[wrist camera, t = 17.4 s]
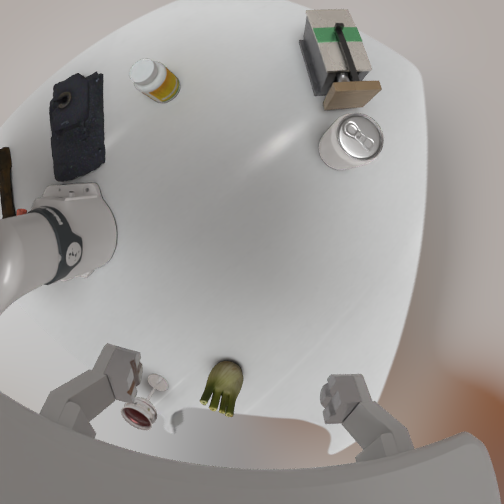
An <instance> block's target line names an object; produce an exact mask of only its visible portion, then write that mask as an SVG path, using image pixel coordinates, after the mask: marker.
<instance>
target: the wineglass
mask: <svg viewBox="0 0 504 504" xmlns="http://www.w3.org/2000/svg"><path fill="white" fill-rule="evenodd" d="M148 382H149V384H150V385H151V386H152V387H153V389H152V391H151V392H150V394H149V395H148V397H147V398H146V399H145V398H142V397H136V398H135V401H134V404H131V403H127V402H126V403H125V405H124V407H123V408H122V409H121V415H122V416H123V418H124V419H125V421H127V422H128V423H129V424H130V425H132V426H133V427H135V428H138V429H141V430H149V429H151V428H152V424H153V423H154V422H155V421H156V418H157V411H156V409H155V407H154V406H153V404H152V403H151V402H150V401H149V400H150V398H151V396H152V395H153V393H154V391H155V389H156V390H158V391H165V390H167V389H168V383H167V381H166V380H165V379H164V378H163V377H161V376H159V375H156V374H151V375H149V376H148Z"/></svg>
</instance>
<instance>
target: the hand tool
mask: <svg viewBox="0 0 504 504" xmlns="http://www.w3.org/2000/svg"><path fill="white" fill-rule="evenodd" d="M11 167H12V163H11V156H10V151H9V148H8V147H3V148H2V149H0V196H1V206H2V215H3V218H2V219H4V218H9V217H13V216H15V215H14V212H15V210H14V209H13V202H12V193H11V182H10V169H11Z"/></svg>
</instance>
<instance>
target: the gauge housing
mask: <svg viewBox="0 0 504 504" xmlns="http://www.w3.org/2000/svg"><path fill="white" fill-rule="evenodd" d="M306 15H307V18H306V25H305V32H304V39H303V40H299V45H300V48H301V51H302V54H303V57H304V61H305V64H306V67H307V71H308V74H309V78H310V81H311V85H312V89H313V92H314V96H320V95H327V94H328V92H329V90H330V88H331V86H332V84H333V83H334V82H338V79H337V76H336V74H337V72H347V74H348V78H349V81H350V82H351V81H352V79H351V76H350V73H349V70H348V67H347V64H346V61H345V58H344V55H343V52H342V49H341V47H340V44H339V41H338V39H337V36H336V33H335V31H334V26H335V23H343V24H344V28H343V30H342V32H343V34H344V37H345V39H346V42H347V45H348V47H349V50H350V53H351V56H352V59H353V61H354V64H355V67H356V70H357V73H358V77H359V80H360V81H362V80H363V79H364V77H365V76H366V75H367V74H368V72H369V71H371V70H372V68H371V65H370V62H369V59H368V56H367V54H366V51H365V48H364V46H363V43H362V39H361V37H360V34H359V32H358V30H357V27H356V26H355V24H354V22H353V20H352V17H351V15H350V13H349V11H348V10H344V9H338V10H336V9H334V10H332V9H331V10H330V9H328V10H306Z"/></svg>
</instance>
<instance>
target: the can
mask: <svg viewBox="0 0 504 504" xmlns="http://www.w3.org/2000/svg"><path fill="white" fill-rule="evenodd" d="M383 142H384V139H383V133H382V130H381V128H380V126H379V125H378V124H377V122H376V121H375V120H374V119H372V118H371V117H369V116H367V115H365V114H361V113H350V114H346V115H343V116H341V117H340V118H338V119H337V120H336V121H335V122H334V123H333V124H332V126H331V127H330V128H329V129H328V130H327V131H326V132H325V134H324V135H323V136H322V138H321V140H320V143H319V153H320V156H321V158H322V160H323V161H324V162H325V163H326V164H327V165H328V166H329V167H331V168H333V169H337V170H345V169H350V168H354V167H359V166H363V165H366V164H369V163H371V162H372V161H374V160H375V159H376V158H377V157H378V155H379V153H380V152H381V150H382V147H383Z"/></svg>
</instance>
